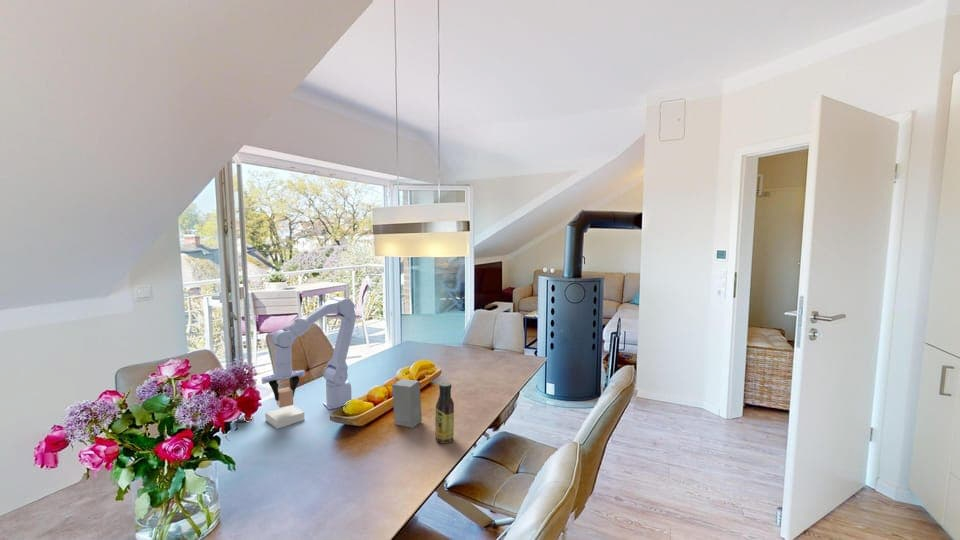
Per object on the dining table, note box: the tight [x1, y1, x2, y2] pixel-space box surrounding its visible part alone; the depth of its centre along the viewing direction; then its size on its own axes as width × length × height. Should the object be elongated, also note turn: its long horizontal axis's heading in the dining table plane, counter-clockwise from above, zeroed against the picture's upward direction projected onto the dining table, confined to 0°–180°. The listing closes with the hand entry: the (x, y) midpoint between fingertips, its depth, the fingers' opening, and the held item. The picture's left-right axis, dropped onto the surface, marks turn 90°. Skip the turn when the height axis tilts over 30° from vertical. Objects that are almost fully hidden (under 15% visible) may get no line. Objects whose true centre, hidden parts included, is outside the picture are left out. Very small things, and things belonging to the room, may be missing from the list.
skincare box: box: [391, 378, 423, 429], centre depth 152 cm, size 8×7×16 cm
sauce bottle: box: [434, 381, 455, 444], centre depth 139 cm, size 6×6×20 cm
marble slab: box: [265, 404, 305, 430], centre depth 154 cm, size 10×10×3 cm
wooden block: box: [276, 386, 294, 409], centre depth 153 cm, size 5×5×6 cm
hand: (284, 398), depth 154 cm, fingers closed on wooden block, 5 cm apart
